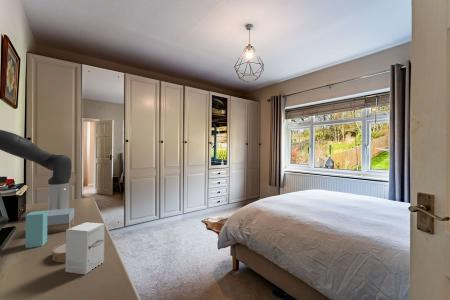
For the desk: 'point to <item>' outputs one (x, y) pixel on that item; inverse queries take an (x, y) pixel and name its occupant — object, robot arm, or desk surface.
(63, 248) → the alarm clock
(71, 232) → the supplement box
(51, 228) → the block
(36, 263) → the desk surface
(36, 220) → the teal block
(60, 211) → the tower top
